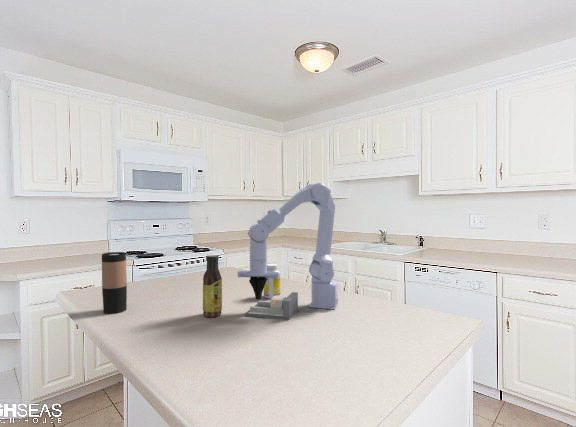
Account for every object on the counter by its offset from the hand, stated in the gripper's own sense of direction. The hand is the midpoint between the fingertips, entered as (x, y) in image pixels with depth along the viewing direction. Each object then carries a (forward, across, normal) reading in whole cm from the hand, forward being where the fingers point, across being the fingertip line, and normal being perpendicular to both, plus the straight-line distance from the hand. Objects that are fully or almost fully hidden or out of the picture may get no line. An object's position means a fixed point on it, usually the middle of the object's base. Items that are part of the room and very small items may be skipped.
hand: (258, 298), depth 117 cm
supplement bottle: (+5, +1, -18) cm, 19 cm away
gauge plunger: (+3, -7, +2) cm, 8 cm away
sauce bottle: (+5, +14, +7) cm, 16 cm away
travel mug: (+5, +49, +10) cm, 50 cm away
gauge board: (+4, -5, 0) cm, 7 cm away
